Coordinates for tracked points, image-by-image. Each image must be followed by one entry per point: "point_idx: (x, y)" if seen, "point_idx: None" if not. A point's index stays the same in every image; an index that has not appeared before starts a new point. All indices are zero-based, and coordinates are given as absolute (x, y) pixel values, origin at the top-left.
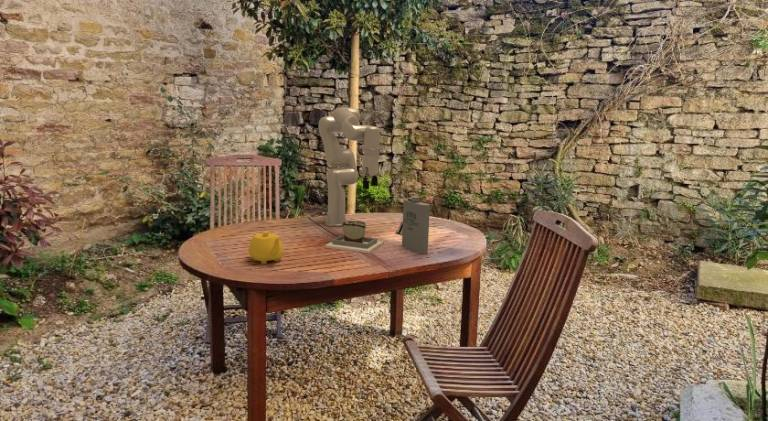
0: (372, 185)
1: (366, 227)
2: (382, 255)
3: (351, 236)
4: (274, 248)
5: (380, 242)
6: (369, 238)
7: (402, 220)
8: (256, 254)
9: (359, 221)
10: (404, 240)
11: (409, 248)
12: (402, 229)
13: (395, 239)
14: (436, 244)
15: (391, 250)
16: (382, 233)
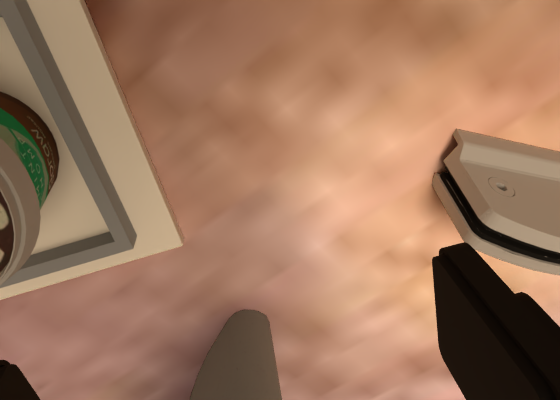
0: (437, 282)
1: (6, 280)
2: (13, 357)
3: None
4: None
5: (155, 244)
6: (100, 209)
7: (498, 217)
8: None
9: (7, 199)
10: (218, 361)
11: (198, 377)
12: (238, 381)
13: (321, 220)
14: (364, 390)
15: (119, 333)
16: (403, 70)
